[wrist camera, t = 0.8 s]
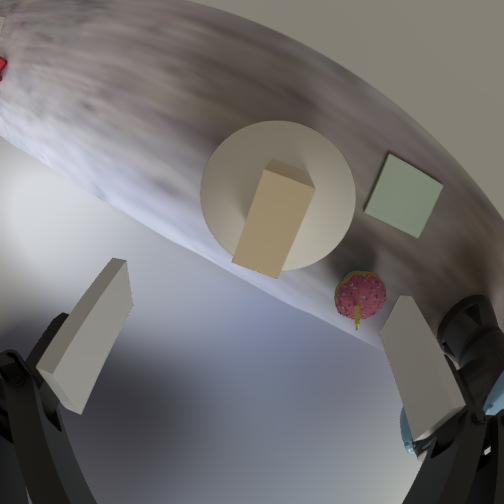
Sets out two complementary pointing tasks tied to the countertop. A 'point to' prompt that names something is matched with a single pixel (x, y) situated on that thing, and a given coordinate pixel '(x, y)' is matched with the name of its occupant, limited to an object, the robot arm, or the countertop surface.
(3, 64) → the cap
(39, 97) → the countertop surface
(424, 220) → the mat
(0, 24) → the milk
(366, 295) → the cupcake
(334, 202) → the lid
